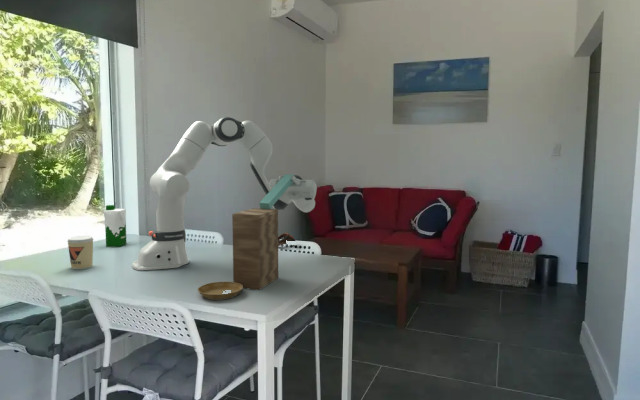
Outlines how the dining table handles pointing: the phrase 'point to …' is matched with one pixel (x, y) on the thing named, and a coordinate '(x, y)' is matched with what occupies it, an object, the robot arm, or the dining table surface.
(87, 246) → the coffee cup
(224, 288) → the plant saucer
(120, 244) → the milk carton
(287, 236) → the pottery mug
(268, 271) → the shelf block
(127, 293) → the dining table surface
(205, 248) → the dining table surface
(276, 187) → the board
